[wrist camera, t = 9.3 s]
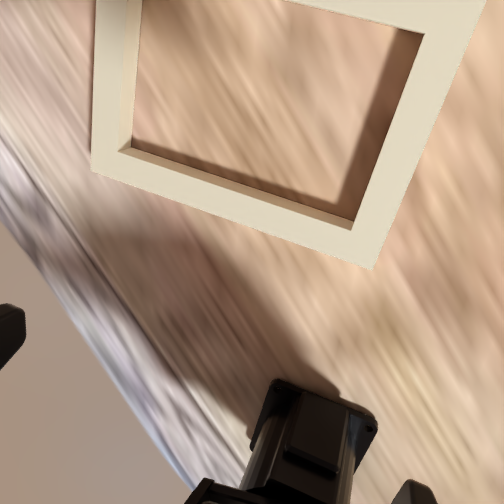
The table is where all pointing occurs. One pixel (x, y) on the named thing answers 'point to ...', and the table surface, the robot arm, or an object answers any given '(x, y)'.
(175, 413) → the table surface
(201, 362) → the table surface
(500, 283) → the table surface
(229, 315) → the table surface
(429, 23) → the pocket frame
